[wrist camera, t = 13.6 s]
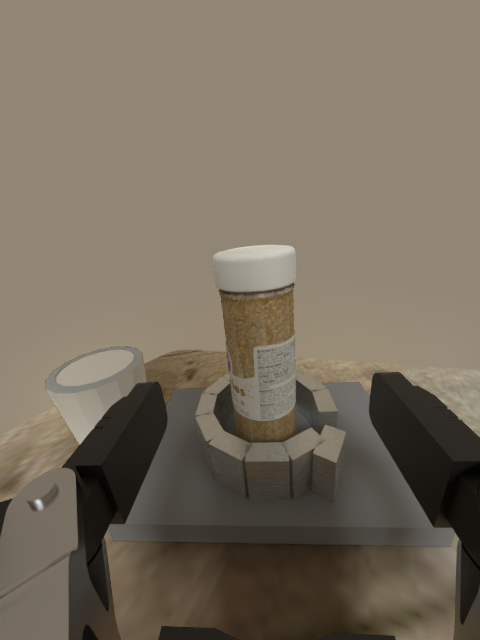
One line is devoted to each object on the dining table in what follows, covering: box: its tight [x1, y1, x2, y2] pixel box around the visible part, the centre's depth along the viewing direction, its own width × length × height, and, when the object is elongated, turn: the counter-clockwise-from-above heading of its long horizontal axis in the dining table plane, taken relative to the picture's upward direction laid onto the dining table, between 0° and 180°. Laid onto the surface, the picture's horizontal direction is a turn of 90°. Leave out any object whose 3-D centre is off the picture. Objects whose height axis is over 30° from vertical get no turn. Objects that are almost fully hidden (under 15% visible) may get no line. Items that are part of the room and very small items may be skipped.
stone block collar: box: [195, 370, 346, 503], centre depth 18 cm, size 9×10×3 cm
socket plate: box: [108, 382, 455, 547], centre depth 19 cm, size 18×12×2 cm, turn 87°
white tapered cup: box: [45, 346, 147, 445], centre depth 21 cm, size 7×7×7 cm
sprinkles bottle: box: [213, 245, 297, 443], centre depth 16 cm, size 5×5×14 cm
